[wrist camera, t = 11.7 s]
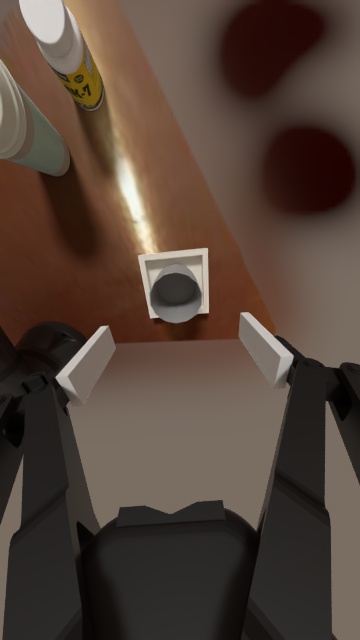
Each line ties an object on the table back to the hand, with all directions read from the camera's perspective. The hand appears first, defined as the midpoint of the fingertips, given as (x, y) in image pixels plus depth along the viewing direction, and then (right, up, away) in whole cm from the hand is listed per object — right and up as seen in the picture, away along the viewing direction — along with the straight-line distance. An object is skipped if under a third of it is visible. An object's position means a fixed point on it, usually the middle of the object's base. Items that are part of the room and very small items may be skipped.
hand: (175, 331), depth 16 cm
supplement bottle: (-13, +34, +6) cm, 37 cm away
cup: (0, +9, +18) cm, 20 cm away
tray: (0, +9, +18) cm, 21 cm away
